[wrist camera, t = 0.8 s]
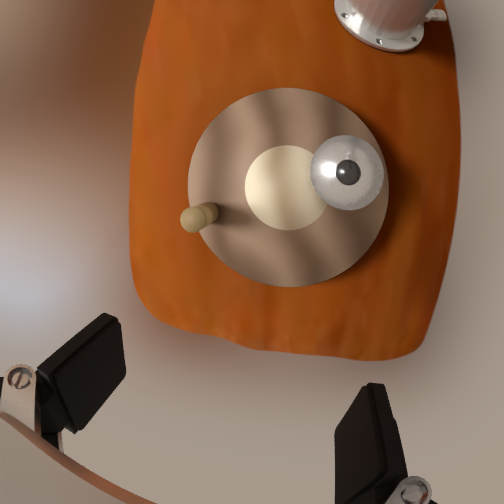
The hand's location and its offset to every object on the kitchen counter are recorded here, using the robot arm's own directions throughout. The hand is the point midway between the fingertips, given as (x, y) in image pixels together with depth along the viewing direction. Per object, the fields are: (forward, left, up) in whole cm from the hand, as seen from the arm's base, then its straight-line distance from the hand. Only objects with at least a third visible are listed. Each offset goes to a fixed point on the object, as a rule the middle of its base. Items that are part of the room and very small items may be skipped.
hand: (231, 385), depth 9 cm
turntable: (-3, -5, -23) cm, 24 cm away
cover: (-9, -5, -22) cm, 24 cm away
